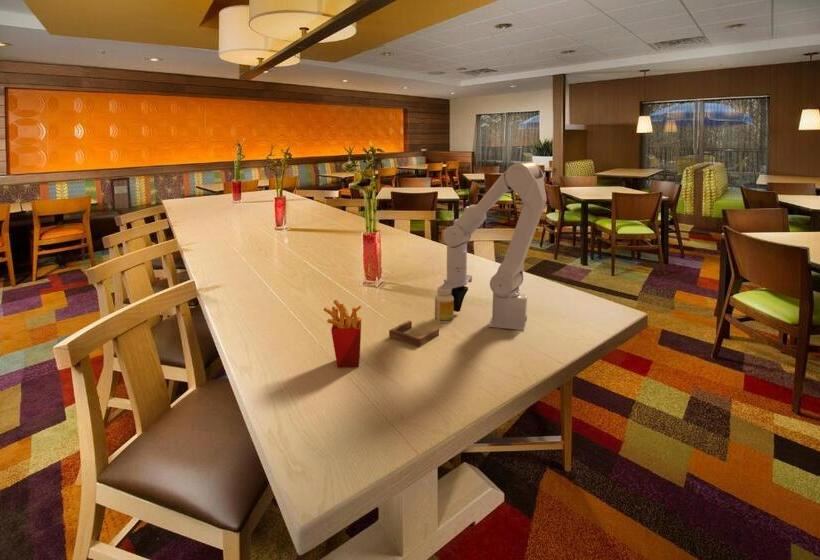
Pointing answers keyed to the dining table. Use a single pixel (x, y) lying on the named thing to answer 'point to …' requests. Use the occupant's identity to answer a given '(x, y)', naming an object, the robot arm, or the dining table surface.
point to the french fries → (345, 335)
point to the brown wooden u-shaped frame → (417, 341)
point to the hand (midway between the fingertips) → (456, 310)
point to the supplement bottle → (444, 306)
